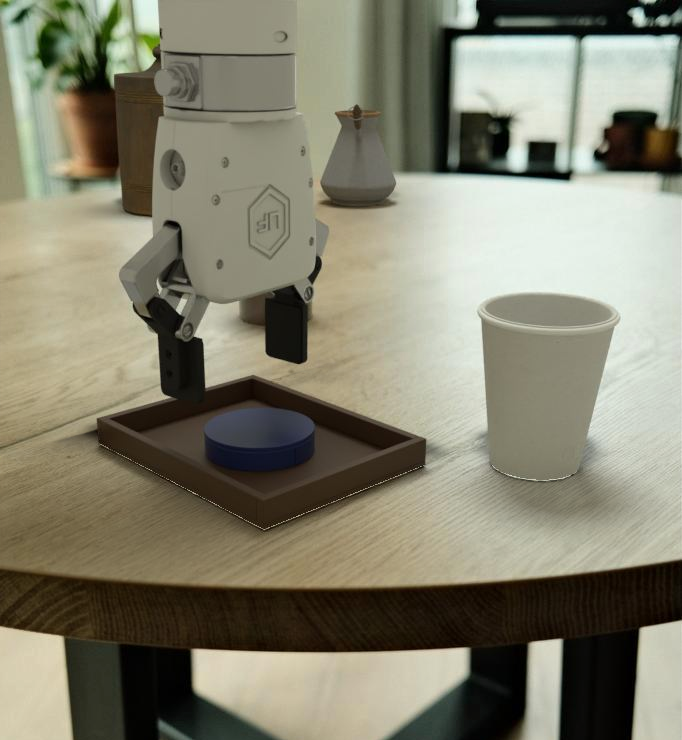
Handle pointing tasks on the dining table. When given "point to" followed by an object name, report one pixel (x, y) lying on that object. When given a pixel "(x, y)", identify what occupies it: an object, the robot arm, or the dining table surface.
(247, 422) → the lid
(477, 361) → the dining table surface
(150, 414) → the tray
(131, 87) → the wooden container
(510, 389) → the dixie cup
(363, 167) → the coffee pot
